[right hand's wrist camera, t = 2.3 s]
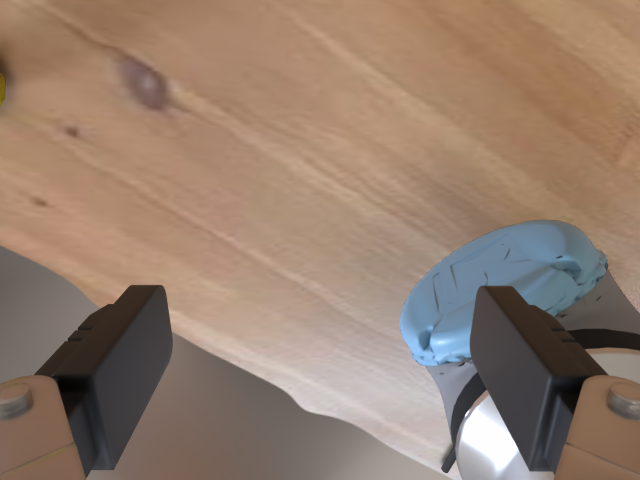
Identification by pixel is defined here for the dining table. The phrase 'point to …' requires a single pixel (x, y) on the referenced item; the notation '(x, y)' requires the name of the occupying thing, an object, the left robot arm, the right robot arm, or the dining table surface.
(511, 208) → the dining table surface
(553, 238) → the left robot arm
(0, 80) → the fruit
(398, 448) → the dining table surface
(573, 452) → the right robot arm
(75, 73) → the dining table surface
